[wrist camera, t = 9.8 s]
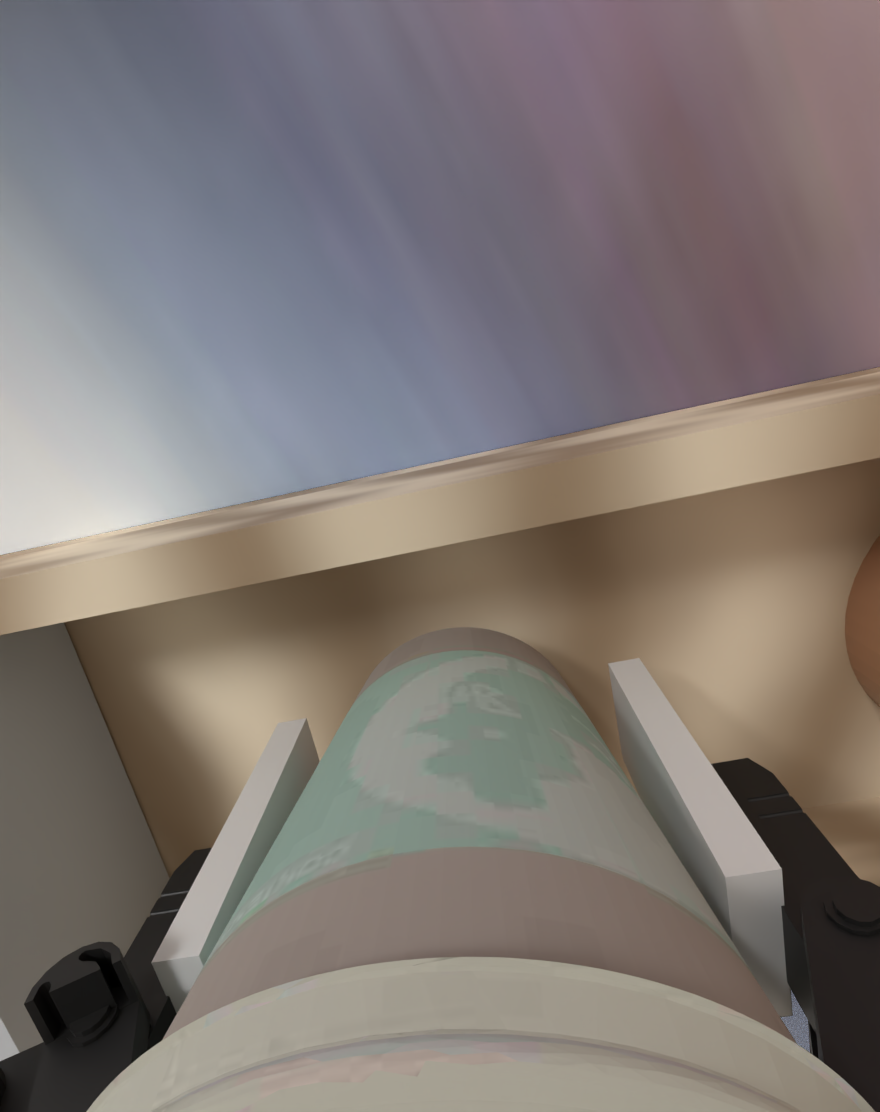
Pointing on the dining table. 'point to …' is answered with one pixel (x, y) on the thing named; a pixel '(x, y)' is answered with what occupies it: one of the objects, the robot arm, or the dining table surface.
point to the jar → (865, 624)
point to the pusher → (61, 825)
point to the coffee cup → (474, 929)
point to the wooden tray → (503, 599)
